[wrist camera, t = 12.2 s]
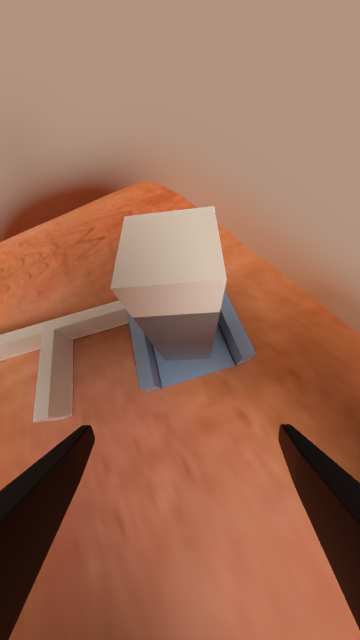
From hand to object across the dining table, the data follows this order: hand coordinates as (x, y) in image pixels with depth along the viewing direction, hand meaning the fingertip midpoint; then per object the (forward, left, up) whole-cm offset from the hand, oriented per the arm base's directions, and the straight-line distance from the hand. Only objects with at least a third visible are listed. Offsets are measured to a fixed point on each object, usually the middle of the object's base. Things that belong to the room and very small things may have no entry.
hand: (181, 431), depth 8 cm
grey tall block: (+6, +4, -8) cm, 11 cm away
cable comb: (0, +10, -8) cm, 13 cm away
